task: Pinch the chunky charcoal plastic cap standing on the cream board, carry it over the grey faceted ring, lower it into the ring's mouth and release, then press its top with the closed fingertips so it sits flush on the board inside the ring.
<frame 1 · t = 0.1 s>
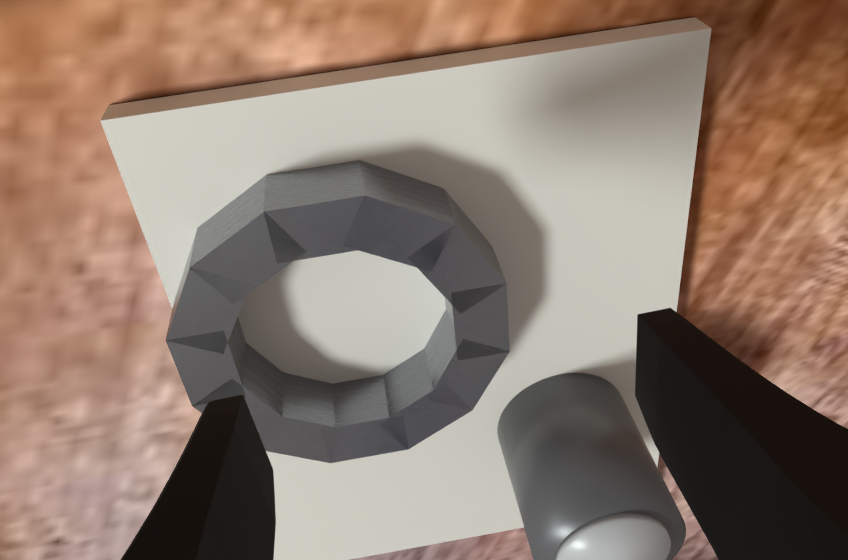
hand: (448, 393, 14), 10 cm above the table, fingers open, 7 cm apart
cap: (560, 421, 28), point 1 cm above the table, touching board
grey faceted ring: (340, 285, 24), resting on board
board: (440, 340, 26), on the table
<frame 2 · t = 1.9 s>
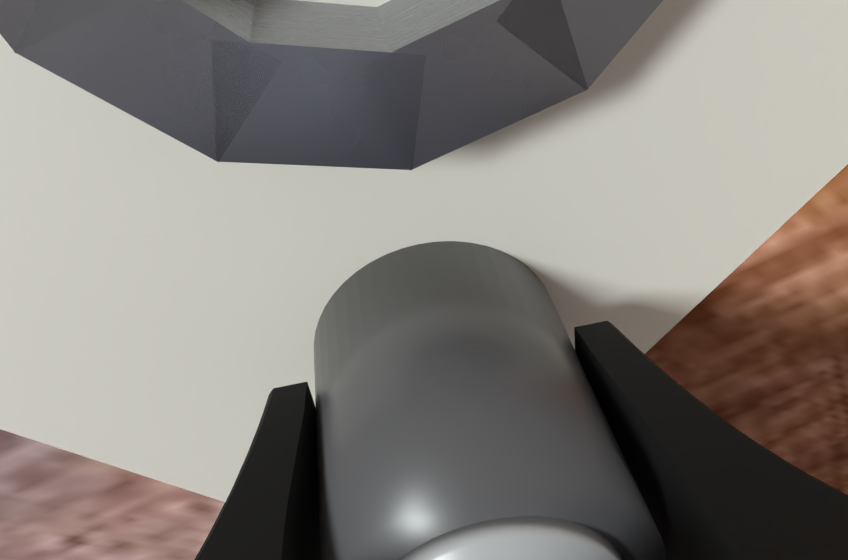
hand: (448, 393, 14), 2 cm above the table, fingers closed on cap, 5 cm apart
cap: (436, 344, 15), point 1 cm above the table, touching board, gripper
board: (381, 47, 12), on the table
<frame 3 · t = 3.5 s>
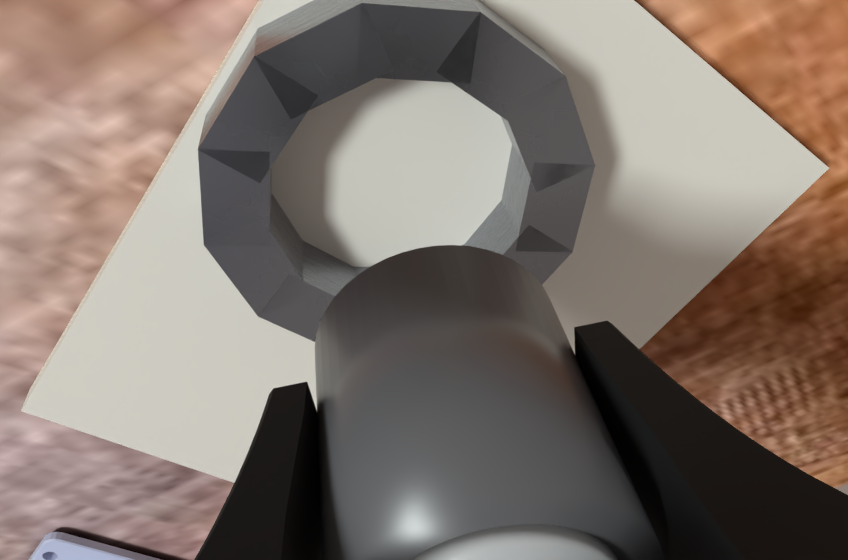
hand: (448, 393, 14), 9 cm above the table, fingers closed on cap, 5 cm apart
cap: (436, 346, 15), point 8 cm above the table, touching gripper
grey faceted ring: (388, 152, 21), resting on board
board: (412, 273, 24), on the table
when the fingers open (4 cm above the table, at t = 5.1 s): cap drops 1 cm, resting on board.
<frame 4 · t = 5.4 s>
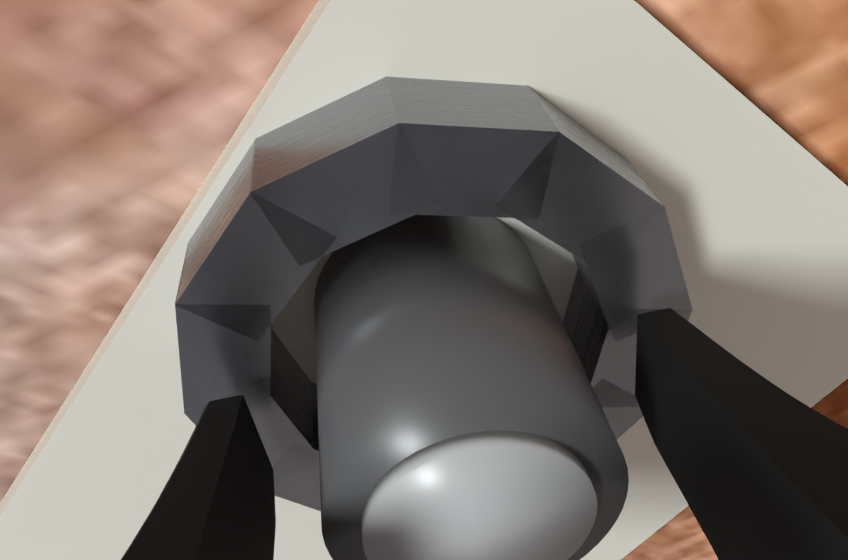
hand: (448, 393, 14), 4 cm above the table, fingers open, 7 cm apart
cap: (427, 301, 16), point 1 cm above the table, touching board
grey faceted ring: (419, 272, 17), resting on board
board: (443, 404, 19), on the table
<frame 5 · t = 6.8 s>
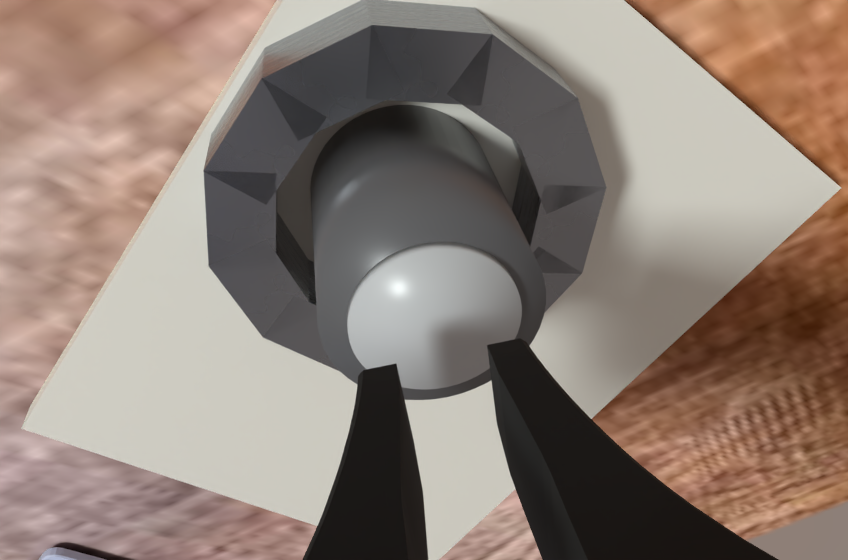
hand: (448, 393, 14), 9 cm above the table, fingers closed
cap: (401, 190, 20), point 1 cm above the table, touching board
grey faceted ring: (395, 170, 21), resting on board
board: (418, 291, 23), on the table
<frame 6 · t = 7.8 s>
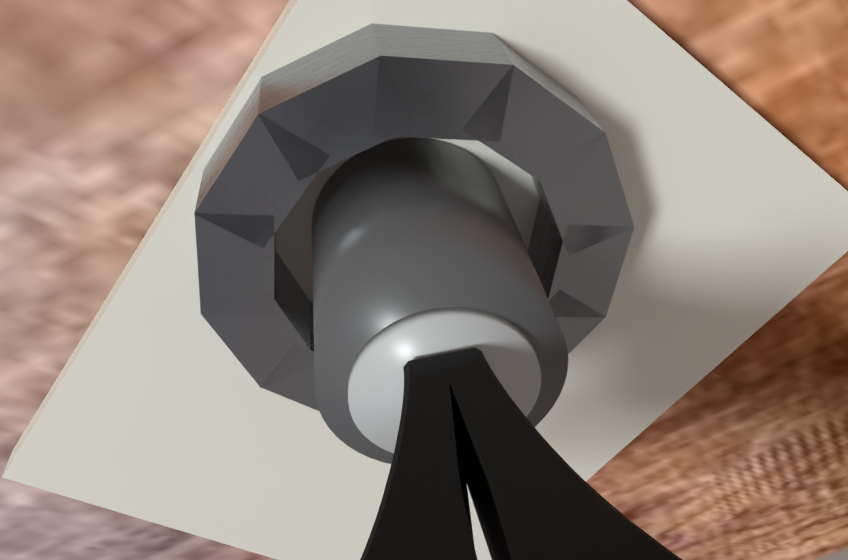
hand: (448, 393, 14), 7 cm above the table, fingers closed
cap: (410, 227, 19), point 1 cm above the table, touching board
grey faceted ring: (403, 204, 19), resting on board
board: (426, 329, 22), on the table
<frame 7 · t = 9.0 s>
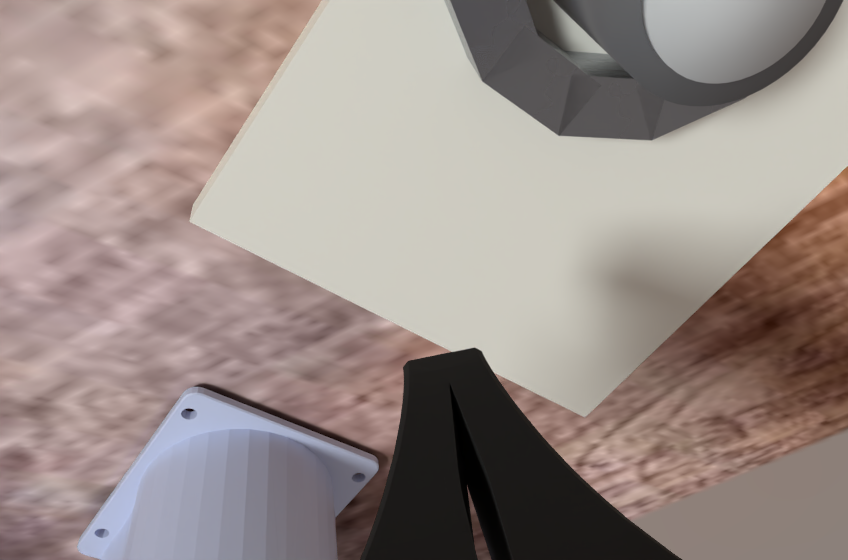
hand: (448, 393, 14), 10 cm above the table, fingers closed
board: (611, 75, 22), on the table
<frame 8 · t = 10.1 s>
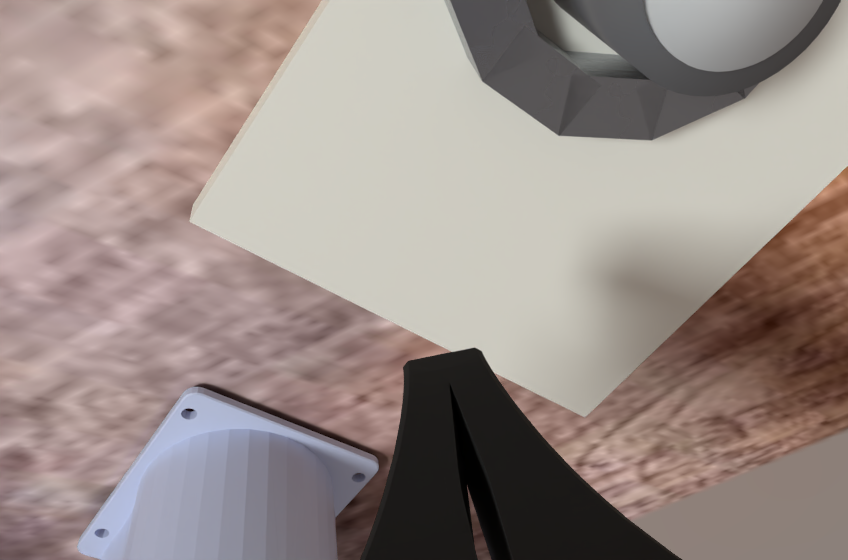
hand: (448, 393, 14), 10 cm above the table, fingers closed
board: (611, 75, 22), on the table
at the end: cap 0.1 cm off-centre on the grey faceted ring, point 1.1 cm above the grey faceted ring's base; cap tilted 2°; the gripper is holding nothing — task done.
